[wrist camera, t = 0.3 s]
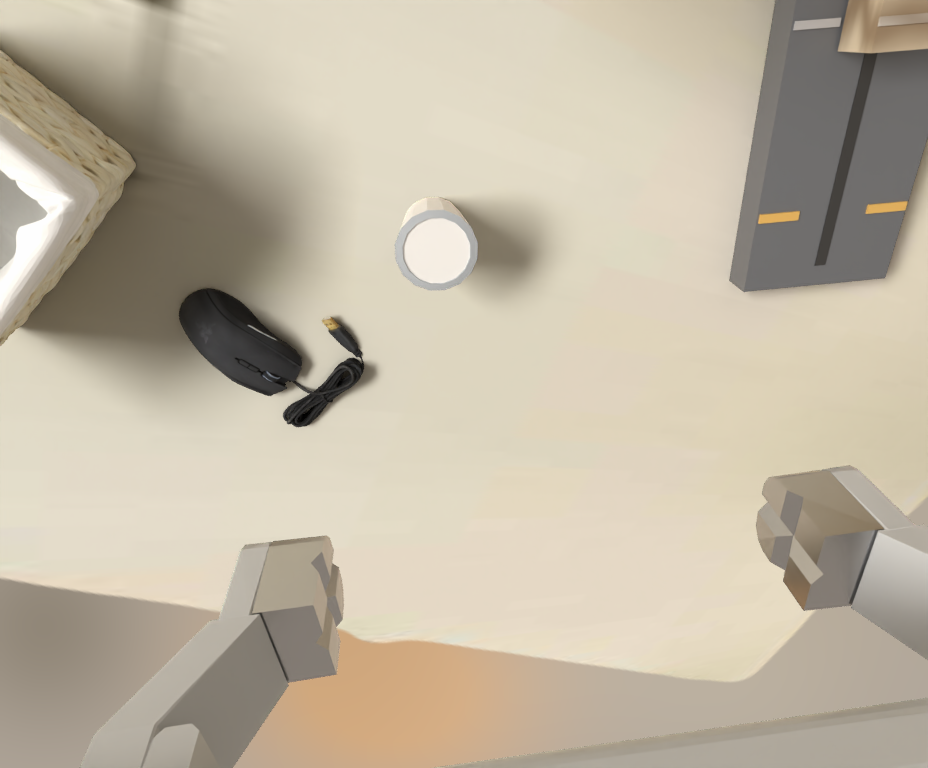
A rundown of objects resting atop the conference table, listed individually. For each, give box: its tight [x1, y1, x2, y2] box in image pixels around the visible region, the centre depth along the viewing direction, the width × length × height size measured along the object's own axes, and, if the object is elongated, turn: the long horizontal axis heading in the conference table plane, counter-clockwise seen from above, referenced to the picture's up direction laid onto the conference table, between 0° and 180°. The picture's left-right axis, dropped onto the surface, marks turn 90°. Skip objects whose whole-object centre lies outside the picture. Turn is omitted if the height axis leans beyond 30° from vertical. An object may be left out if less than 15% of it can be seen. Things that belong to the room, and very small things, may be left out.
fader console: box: [729, 0, 928, 292], centre depth 53 cm, size 26×14×3 cm, turn 4°
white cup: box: [395, 197, 478, 290], centre depth 53 cm, size 7×7×7 cm
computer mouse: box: [179, 289, 364, 427], centre depth 59 cm, size 12×18×4 cm
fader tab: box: [838, 0, 928, 53], centre depth 45 cm, size 4×6×4 cm, turn 94°
